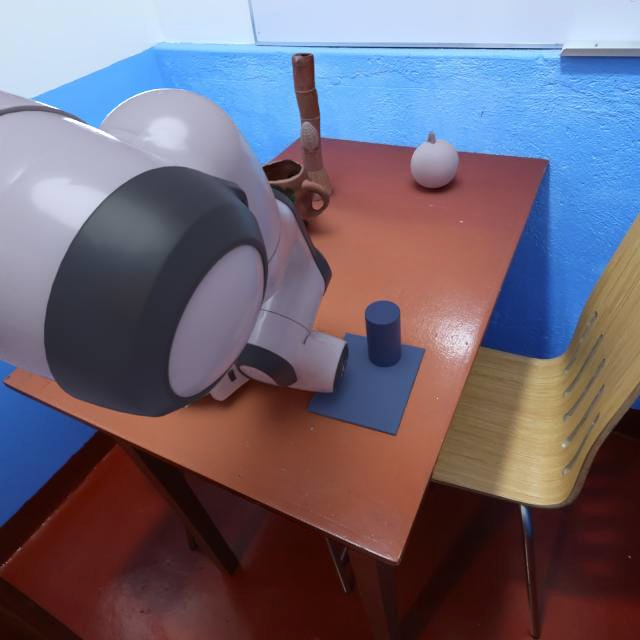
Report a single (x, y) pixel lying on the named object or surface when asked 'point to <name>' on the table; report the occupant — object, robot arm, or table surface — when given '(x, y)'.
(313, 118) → the vase
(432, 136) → the ornament
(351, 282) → the table surface
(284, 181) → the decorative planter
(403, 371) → the blue mat
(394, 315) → the blue canister
